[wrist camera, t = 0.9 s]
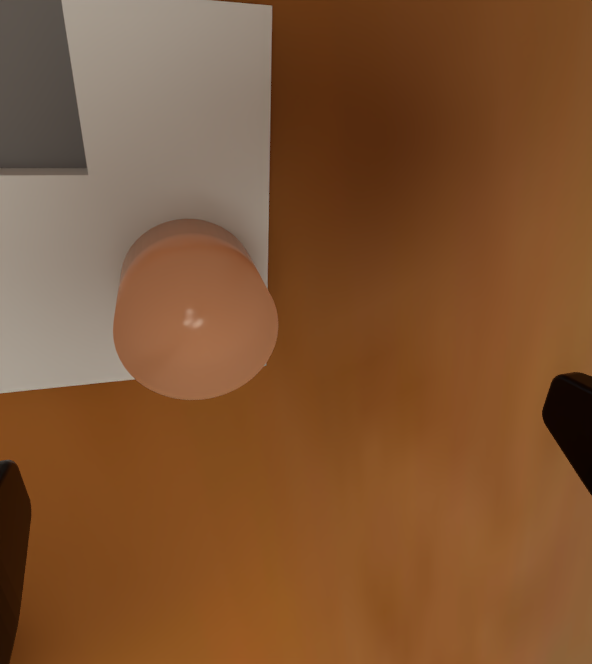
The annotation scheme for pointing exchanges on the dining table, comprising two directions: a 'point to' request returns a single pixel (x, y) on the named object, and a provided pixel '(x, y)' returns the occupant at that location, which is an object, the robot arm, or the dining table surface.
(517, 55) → the dining table surface
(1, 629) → the robot arm
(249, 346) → the pink short cylinder
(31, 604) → the dining table surface
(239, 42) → the deck
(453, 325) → the dining table surface
